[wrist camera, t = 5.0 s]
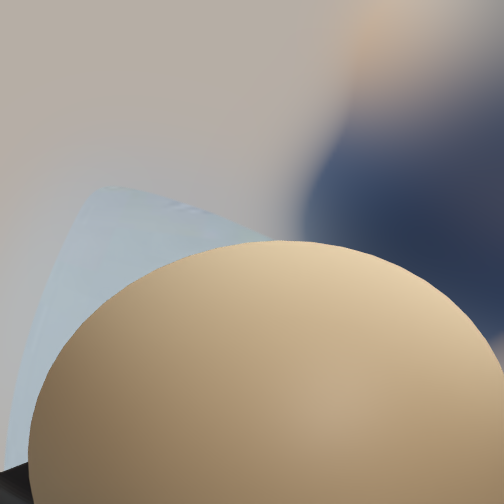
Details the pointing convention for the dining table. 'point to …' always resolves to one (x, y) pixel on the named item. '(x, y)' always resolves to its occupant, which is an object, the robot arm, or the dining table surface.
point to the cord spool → (272, 388)
